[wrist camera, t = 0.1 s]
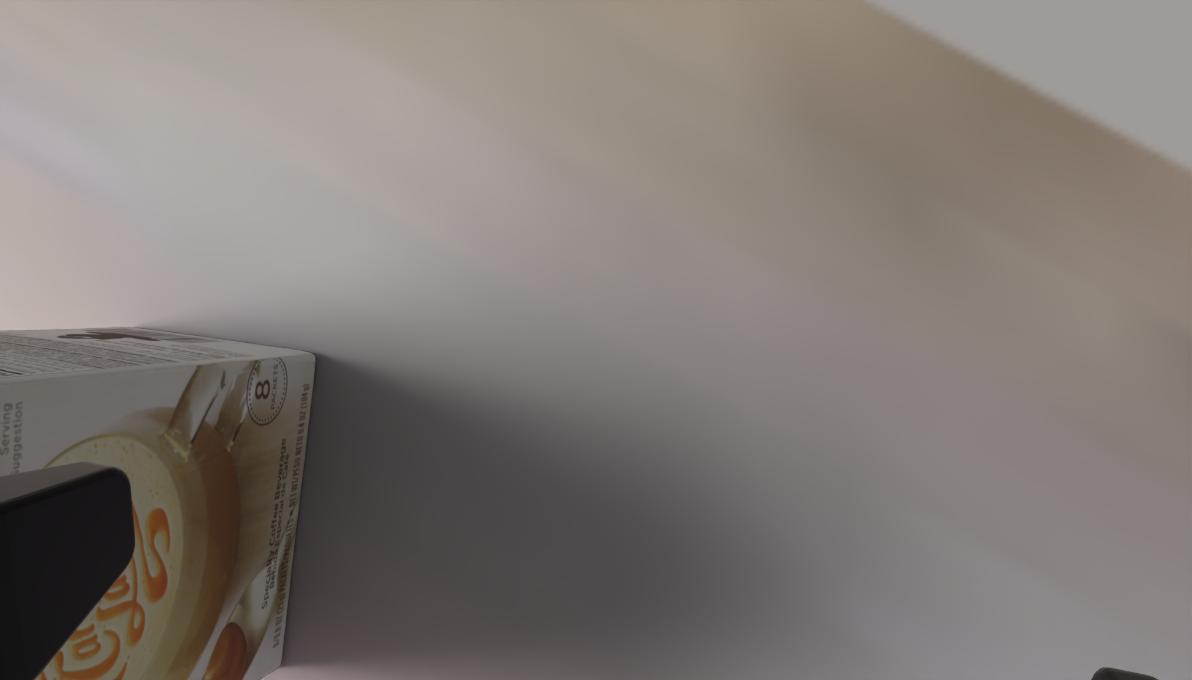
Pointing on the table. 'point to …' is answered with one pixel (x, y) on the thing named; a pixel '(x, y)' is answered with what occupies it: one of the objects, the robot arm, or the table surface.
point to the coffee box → (172, 488)
